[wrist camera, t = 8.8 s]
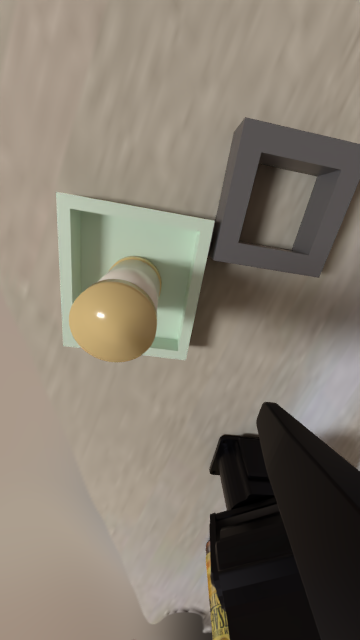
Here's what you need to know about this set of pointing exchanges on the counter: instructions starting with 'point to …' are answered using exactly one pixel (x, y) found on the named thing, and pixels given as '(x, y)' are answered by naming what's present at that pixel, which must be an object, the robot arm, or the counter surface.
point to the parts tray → (134, 240)
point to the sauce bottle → (216, 606)
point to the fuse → (118, 311)
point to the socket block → (323, 207)
